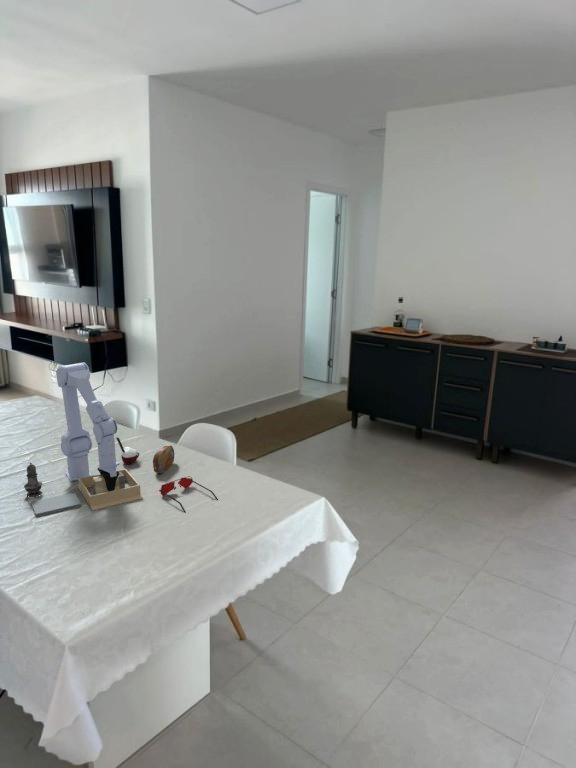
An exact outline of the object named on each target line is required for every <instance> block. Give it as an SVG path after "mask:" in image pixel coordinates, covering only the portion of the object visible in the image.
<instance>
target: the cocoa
mask: <svg viewBox="0 0 576 768" xmlns="http://www.w3.org/2000/svg"><path fill="white" fill-rule="evenodd" d="M116 440H117V443H118V445H119V448H120V455H121V460H122V463H123V464H125V465H128V466H130V465H133V464H135V463H136V462H137V461H138V458H139V456H140V452H138V449H135V448H134V447H133V448H132V447H130V446H125V447H123V444H122V442H121V439H120V438H119V437H116Z"/></svg>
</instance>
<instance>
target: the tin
mask: <svg viewBox="0 0 576 768" xmlns="http://www.w3.org/2000/svg"><path fill="white" fill-rule="evenodd" d="M174 461H175V451H174V447H173V446H172V445H165V446H163V447H161V448H160V449H159V450H158V451H157V452H155V453H154V455H153V458H152V467H153V471H154V473H156V474H164V473H166V471H167V470H169V468H171V466H173V464H174Z"/></svg>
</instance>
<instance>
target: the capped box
mask: <svg viewBox="0 0 576 768" xmlns="http://www.w3.org/2000/svg"><path fill="white" fill-rule="evenodd" d="M123 488H126V479H125V478H124V475H123V473H122V472H119V476H118V478H117V480H116V484H115V490H118V489H123ZM92 489H93V495H96V494H100V493H105V492H108V490H107V486H106V482H105V479H104V477H103V476H98V477H93V486H92Z"/></svg>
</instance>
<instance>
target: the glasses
mask: <svg viewBox="0 0 576 768" xmlns="http://www.w3.org/2000/svg"><path fill="white" fill-rule="evenodd" d="M193 479H194V478H193V477H192V476H190V475H189V476H188V475H187V476H186V477H181V478H179V479H176V480H172V481H170V482H169V481H168V482H167V483H165V484H162V485H161V487H160V489H159V490H158V492H159V493H160V495H161V496H162V497H164V496H167V497H169V498H170V499H171V500H173V501H175V502H176V503H178V504H179V506H180V507H181V510H182V511H183V513H184V514H186V510H185V508H184V506H183V505H182V503H181V502H180V501H179V500H177V499H176V498H174V497H172V496H171V495H169V493H170V492H172V491H175V490H176V488H177V486H175V482H177V481H178V482H177V484H178V486H179V487H180V488H184V489H189V487H190V486H191V485H192V484H193V483H194V484H196V485H198V486H200V487H201V488H204V489H205V490H207V491H209V492H210V493H211V494H212V495H213V497H214V498H215V500H216V499H217V500H216V501H219V498H218V497H217V495H215V493H214V492H213V491H212V490H211V489H209V488H207V487H205V486H203V485H202V484H200V483H198V482H196V481H195V480H193Z"/></svg>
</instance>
